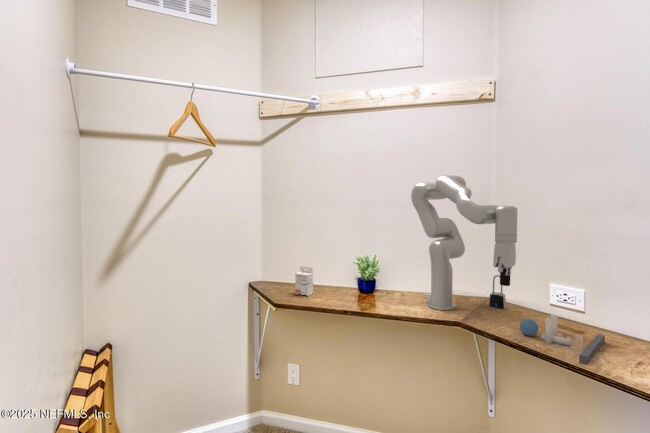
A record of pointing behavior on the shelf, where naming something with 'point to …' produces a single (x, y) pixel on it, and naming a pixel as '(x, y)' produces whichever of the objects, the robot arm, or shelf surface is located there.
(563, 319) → the shelf surface
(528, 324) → the ball
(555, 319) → the pin
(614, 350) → the shelf surface
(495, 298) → the padlock
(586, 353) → the grey long square bar
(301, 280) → the ink cartridge box
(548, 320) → the pin
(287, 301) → the shelf surface
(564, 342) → the front pin
